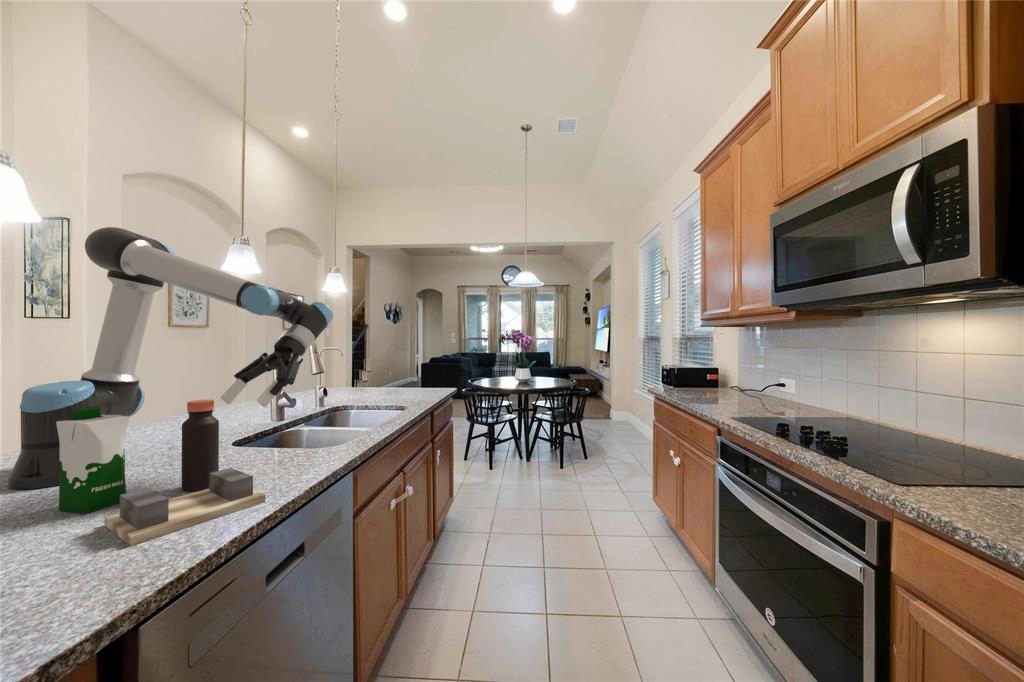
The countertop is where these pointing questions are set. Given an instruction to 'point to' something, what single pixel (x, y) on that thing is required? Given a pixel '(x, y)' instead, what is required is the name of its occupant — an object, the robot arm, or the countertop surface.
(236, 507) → the end cap board
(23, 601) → the countertop surface
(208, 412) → the vinegar
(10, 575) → the countertop surface
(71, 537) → the countertop surface
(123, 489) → the milk carton
